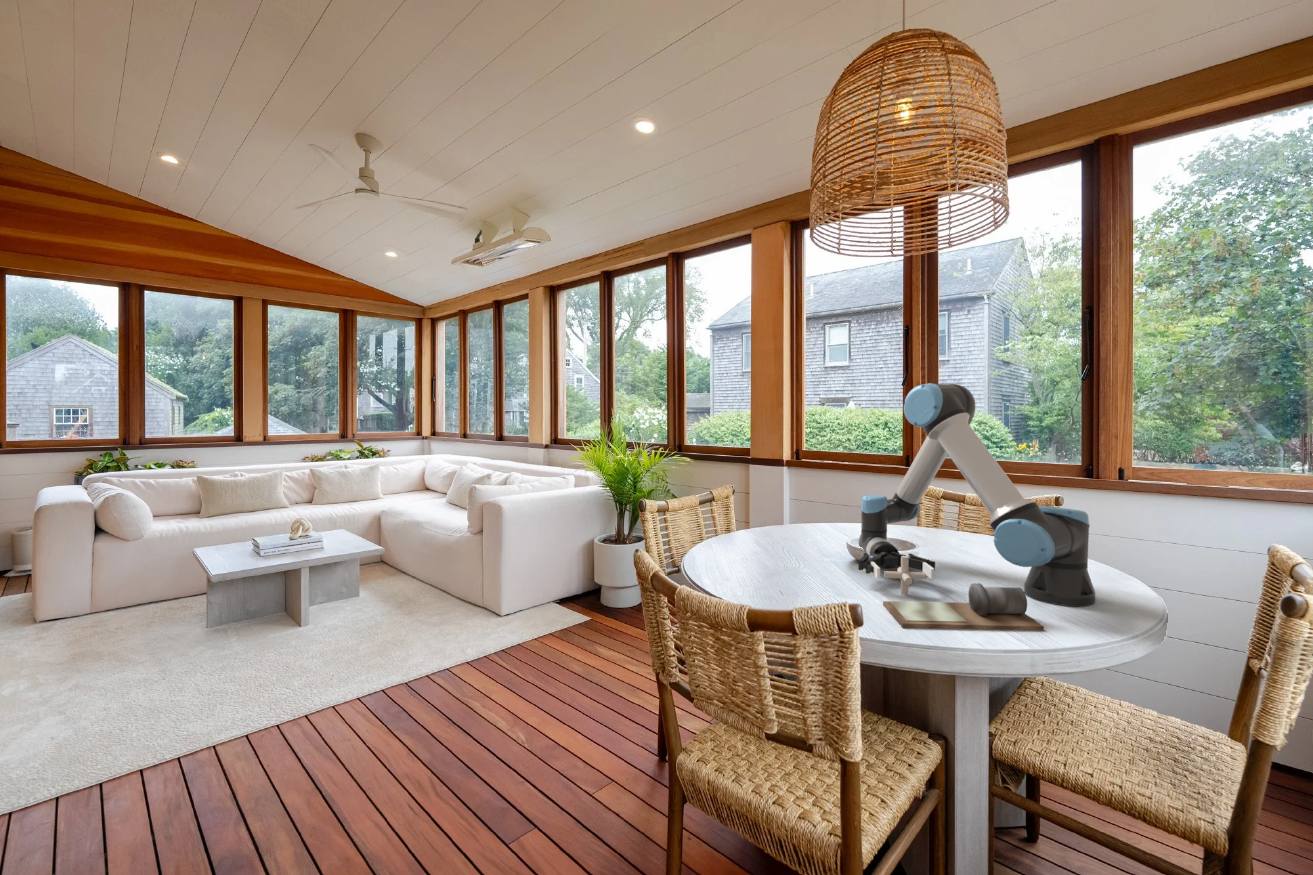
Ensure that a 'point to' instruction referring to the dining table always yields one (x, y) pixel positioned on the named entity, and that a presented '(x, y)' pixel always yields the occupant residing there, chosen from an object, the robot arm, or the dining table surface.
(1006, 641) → the dining table surface
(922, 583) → the dining table surface
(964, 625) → the fitting board
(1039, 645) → the dining table surface
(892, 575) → the pipe connector
